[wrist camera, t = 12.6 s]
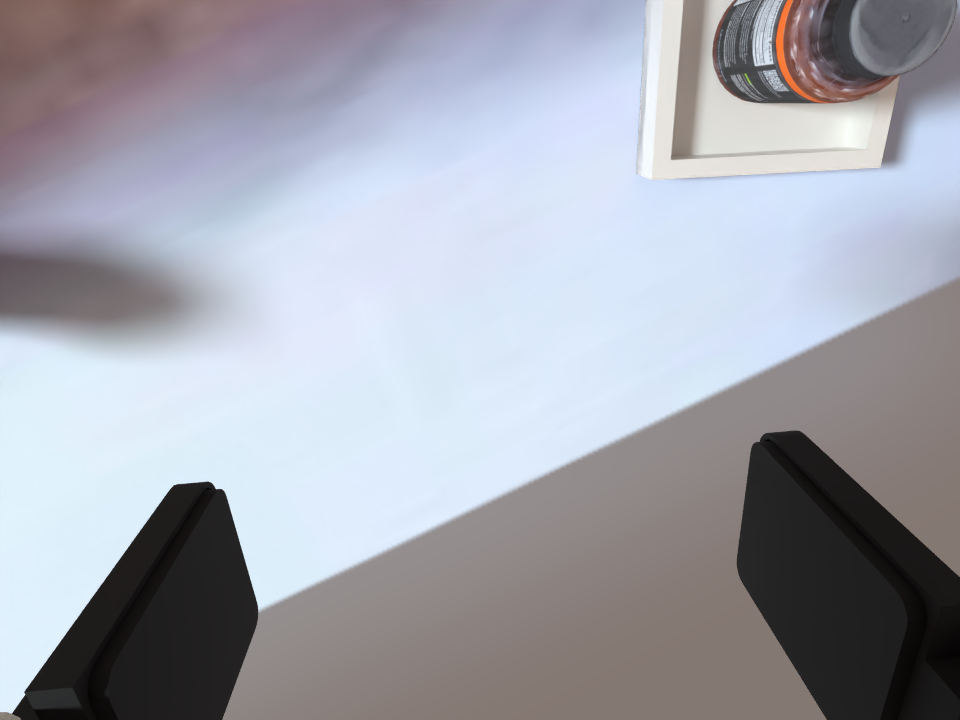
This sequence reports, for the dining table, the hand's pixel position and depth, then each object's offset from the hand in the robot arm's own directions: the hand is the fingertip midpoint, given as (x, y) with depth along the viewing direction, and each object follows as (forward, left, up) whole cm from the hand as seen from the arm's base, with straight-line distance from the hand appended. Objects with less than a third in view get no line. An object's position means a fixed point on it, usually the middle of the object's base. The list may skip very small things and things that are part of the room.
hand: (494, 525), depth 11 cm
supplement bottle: (-9, +17, -28) cm, 34 cm away
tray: (-9, +17, -28) cm, 34 cm away
